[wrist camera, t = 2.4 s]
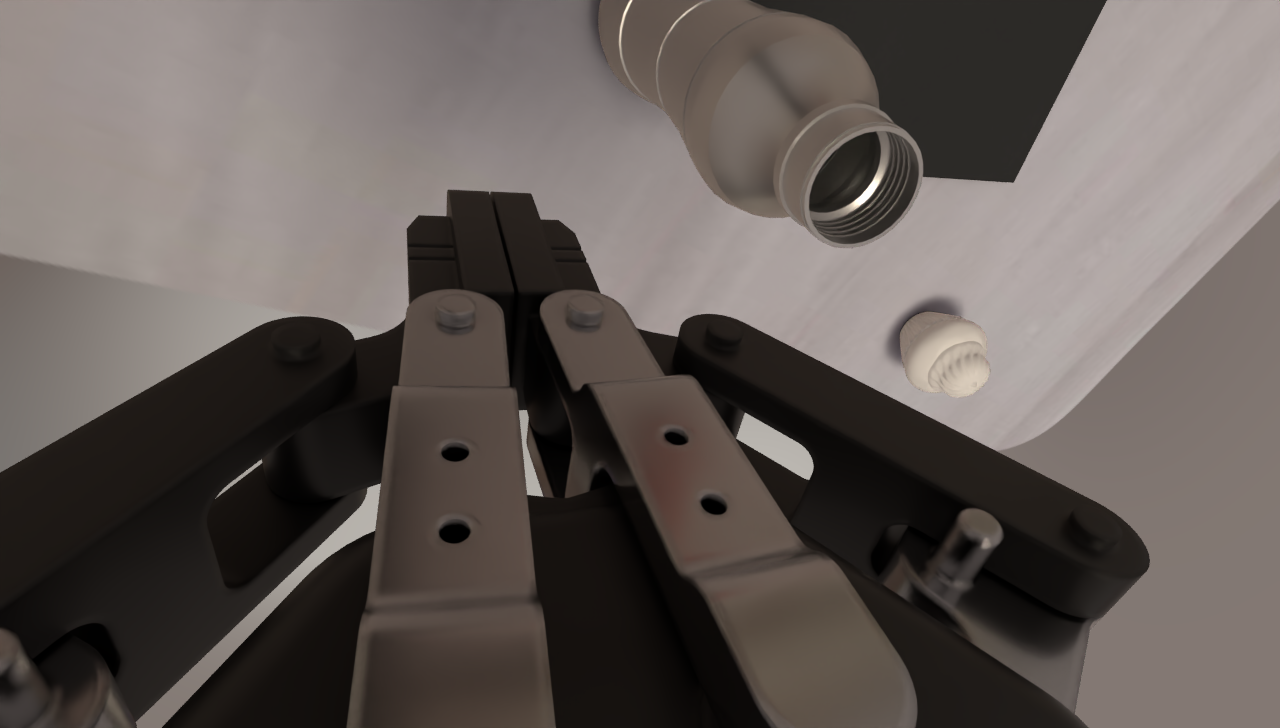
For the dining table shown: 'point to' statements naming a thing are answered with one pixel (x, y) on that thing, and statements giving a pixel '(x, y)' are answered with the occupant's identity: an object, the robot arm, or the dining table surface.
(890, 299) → the dining table surface
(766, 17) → the plastic bottle
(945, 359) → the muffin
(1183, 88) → the dining table surface
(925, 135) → the rubber mat
